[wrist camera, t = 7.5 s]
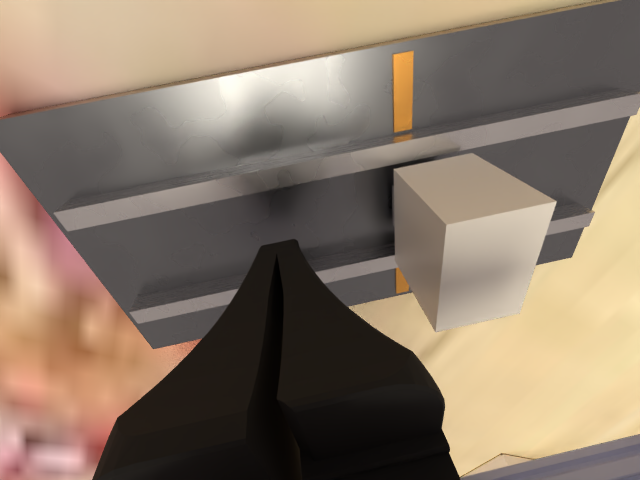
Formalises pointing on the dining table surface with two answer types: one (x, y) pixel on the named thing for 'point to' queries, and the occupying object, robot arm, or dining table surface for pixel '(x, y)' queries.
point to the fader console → (324, 156)
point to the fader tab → (467, 238)
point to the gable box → (498, 463)
